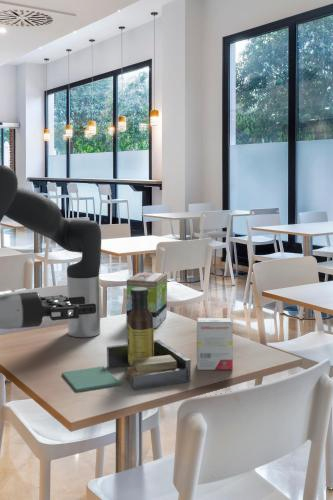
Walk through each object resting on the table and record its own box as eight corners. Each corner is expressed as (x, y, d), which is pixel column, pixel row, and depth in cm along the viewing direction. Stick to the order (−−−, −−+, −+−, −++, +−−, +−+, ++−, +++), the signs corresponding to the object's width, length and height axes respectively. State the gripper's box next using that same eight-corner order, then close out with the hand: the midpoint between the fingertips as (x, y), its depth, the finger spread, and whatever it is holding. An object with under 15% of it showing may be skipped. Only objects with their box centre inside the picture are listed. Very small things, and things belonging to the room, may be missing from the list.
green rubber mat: (62, 374, 140) (62, 372, 139) (103, 368, 144) (103, 366, 144) (76, 391, 129) (76, 389, 129) (120, 384, 133) (120, 382, 133)
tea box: (157, 329, 180) (157, 280, 178) (125, 327, 182) (124, 279, 180) (167, 317, 194) (167, 272, 192) (137, 315, 196) (137, 271, 194)
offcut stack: (125, 378, 137) (125, 359, 136) (169, 372, 141) (169, 353, 141) (135, 387, 131) (135, 367, 130) (180, 380, 136) (180, 361, 135)
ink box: (231, 363, 147) (231, 316, 146) (232, 370, 142) (233, 321, 141) (196, 363, 147) (196, 316, 146) (196, 370, 143) (197, 321, 141)
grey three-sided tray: (107, 366, 145) (106, 346, 145) (158, 359, 151) (158, 339, 150) (133, 390, 129) (133, 368, 129) (190, 381, 135) (190, 359, 134)
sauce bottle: (136, 364, 147) (135, 284, 144) (158, 367, 144) (158, 286, 142) (122, 371, 141) (121, 289, 139) (146, 375, 139) (145, 291, 136)
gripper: (23, 299, 122) (99, 293, 129) (11, 288, 135) (80, 283, 141) (24, 335, 123) (100, 327, 129) (12, 320, 136) (81, 314, 142)
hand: (89, 304), depth 135 cm, fingers open, 8 cm apart
